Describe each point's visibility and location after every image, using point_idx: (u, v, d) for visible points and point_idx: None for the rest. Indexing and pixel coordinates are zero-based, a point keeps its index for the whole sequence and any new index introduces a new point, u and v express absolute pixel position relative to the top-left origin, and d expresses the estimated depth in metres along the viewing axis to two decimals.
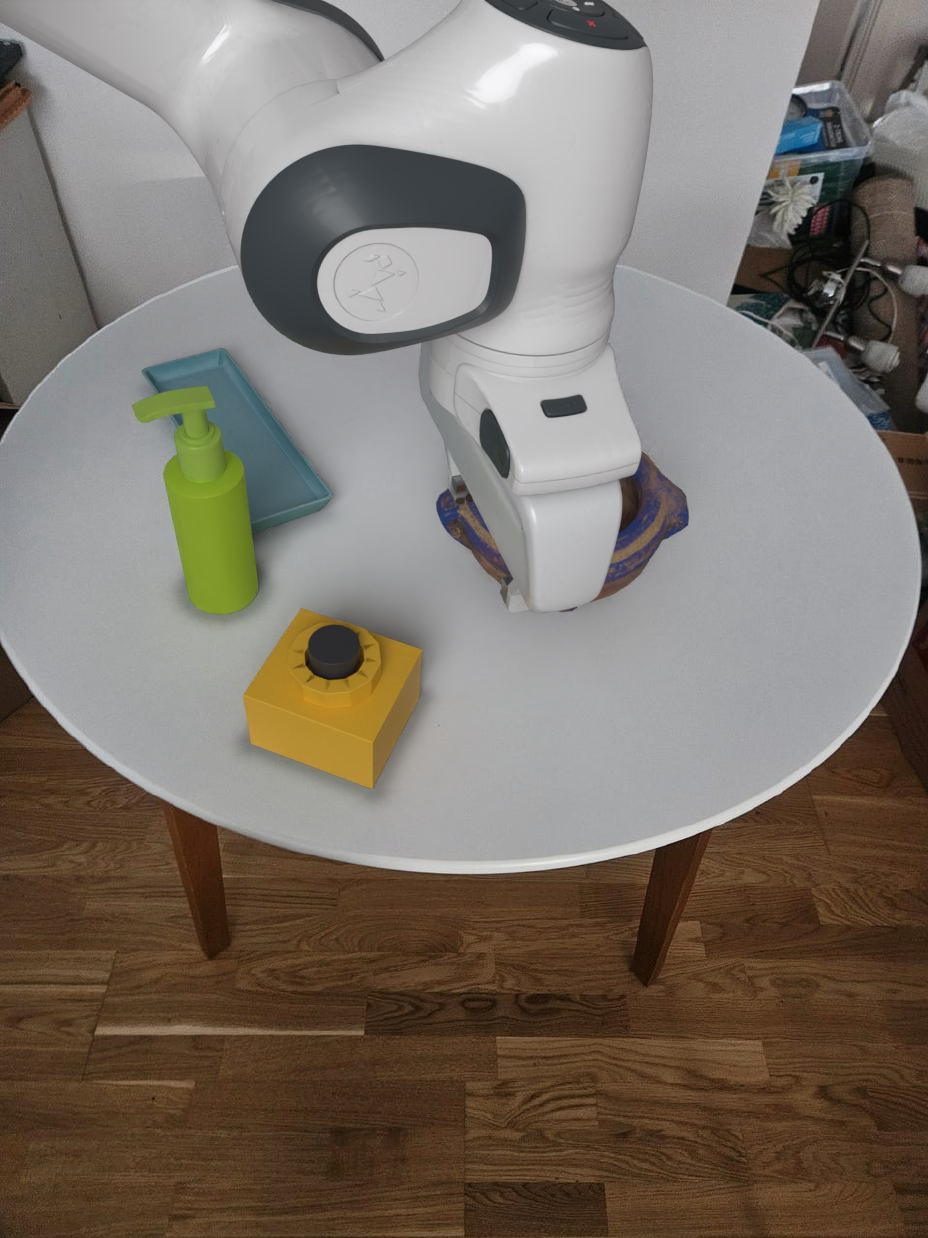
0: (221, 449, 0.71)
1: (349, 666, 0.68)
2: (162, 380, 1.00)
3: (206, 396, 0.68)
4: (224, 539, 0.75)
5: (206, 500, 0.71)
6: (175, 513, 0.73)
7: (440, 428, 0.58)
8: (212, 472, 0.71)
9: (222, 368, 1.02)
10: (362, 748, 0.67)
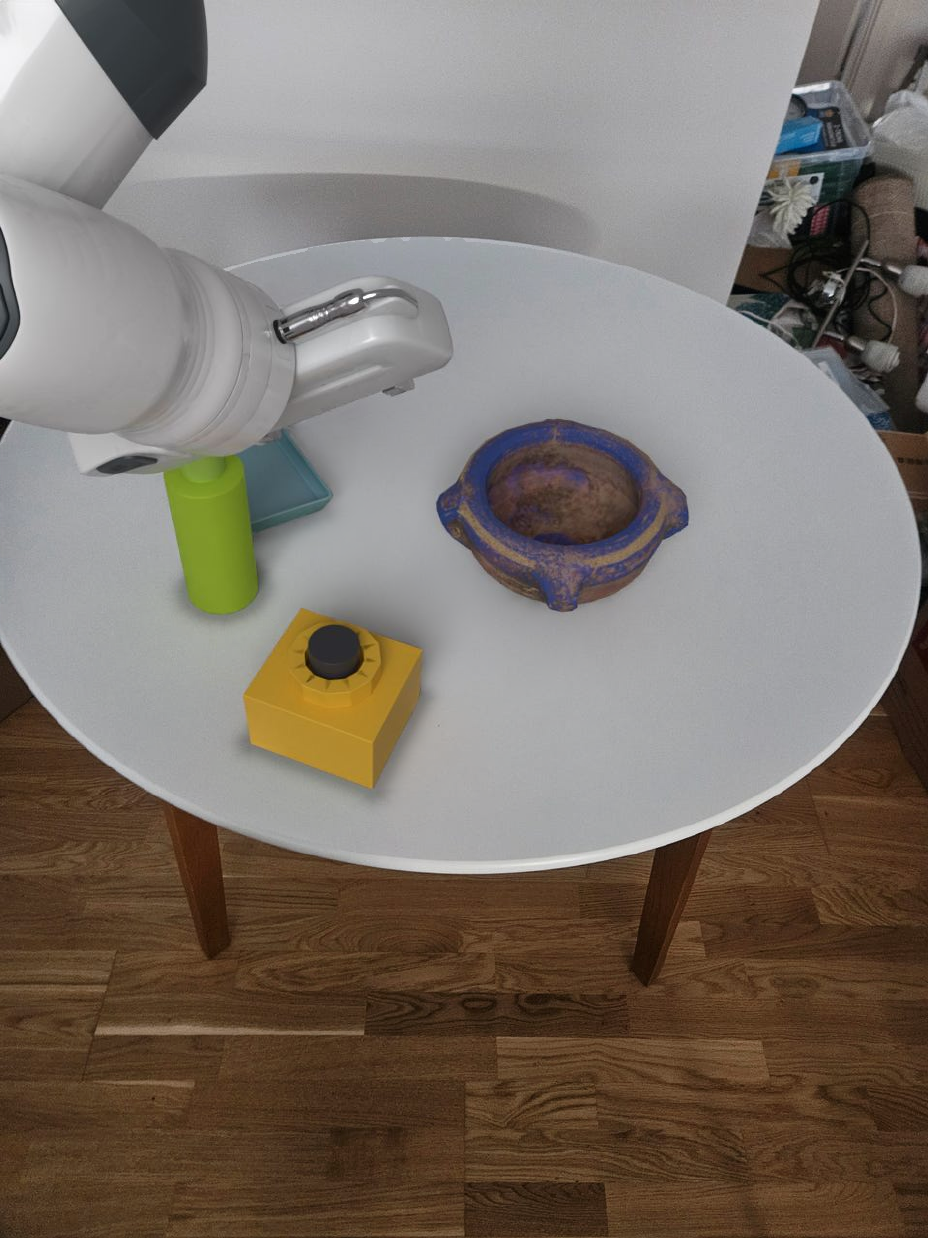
0: None
1: (349, 666, 0.68)
2: None
3: None
4: (224, 539, 0.75)
5: (206, 501, 0.71)
6: (175, 513, 0.73)
7: None
8: (212, 472, 0.71)
9: None
10: (362, 748, 0.67)
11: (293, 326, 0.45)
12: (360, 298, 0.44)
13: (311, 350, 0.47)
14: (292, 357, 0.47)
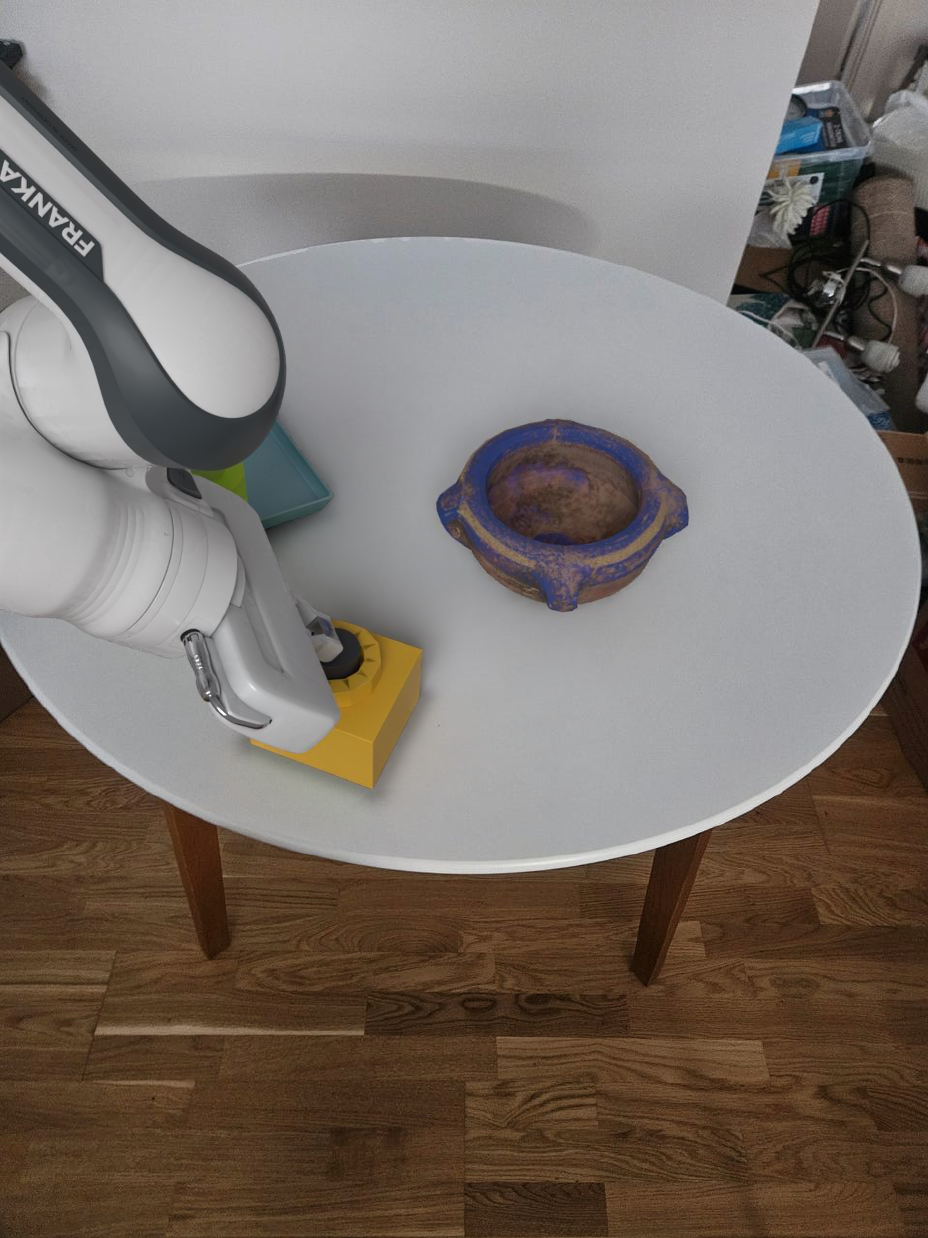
0: None
1: (349, 669, 0.68)
2: None
3: None
4: None
5: None
6: None
7: (312, 657, 0.60)
8: (212, 472, 0.71)
9: None
10: (362, 748, 0.67)
11: (186, 648, 0.54)
12: (204, 696, 0.52)
13: None
14: None
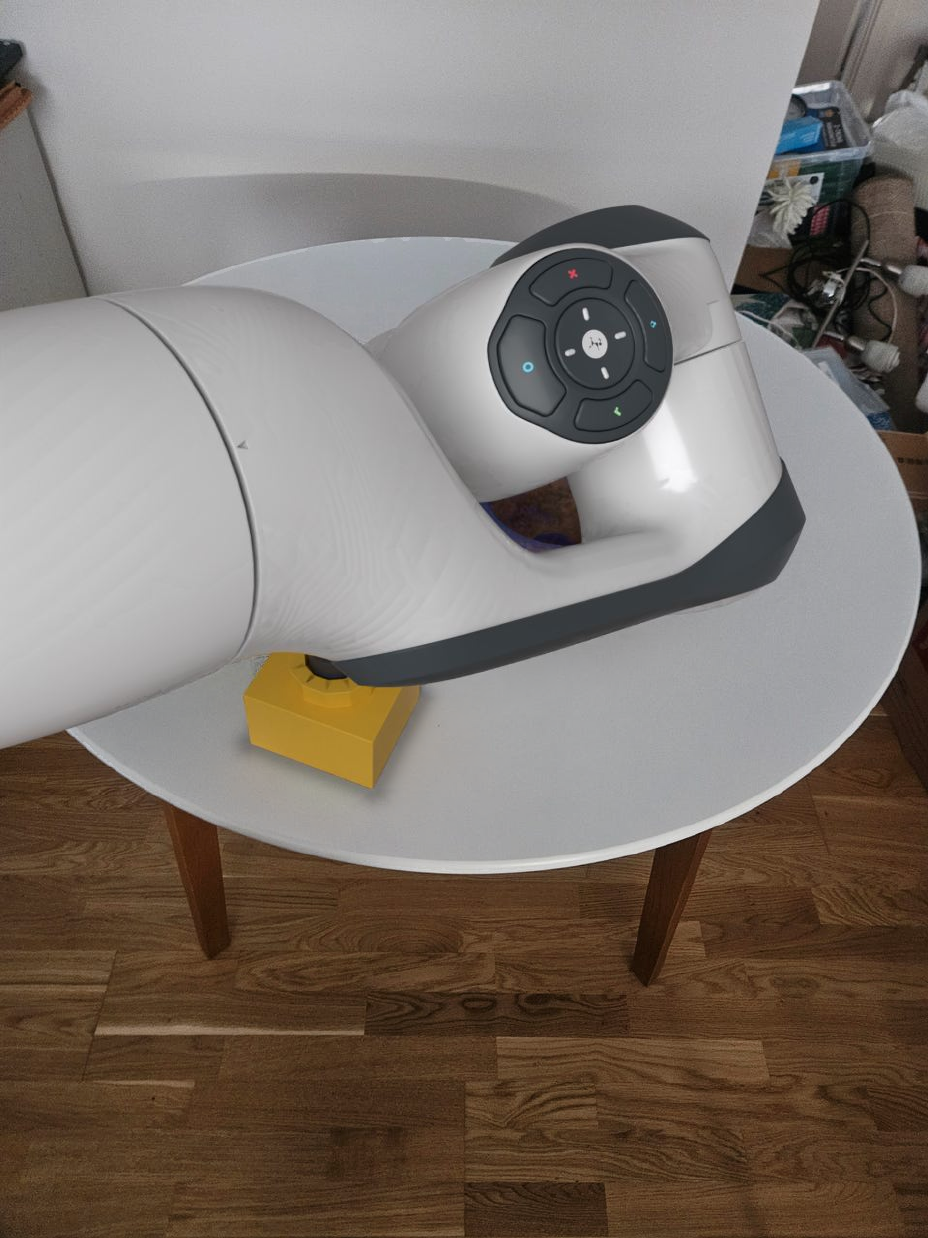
0: None
1: None
2: None
3: None
4: None
5: None
6: None
7: None
8: None
9: None
10: (362, 748, 0.67)
11: None
12: None
13: None
14: None
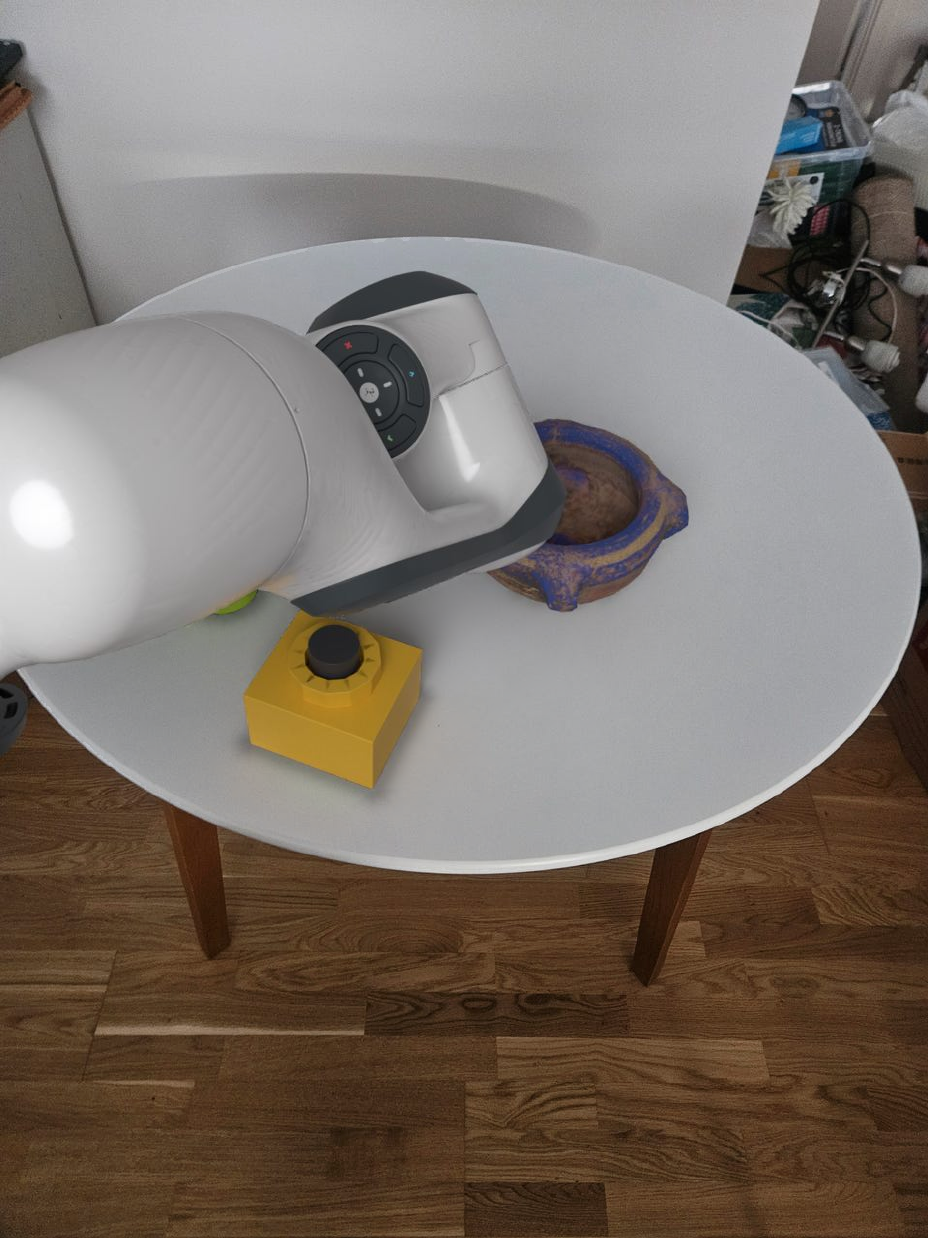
0: None
1: (349, 666, 0.68)
2: None
3: None
4: None
5: None
6: None
7: None
8: None
9: None
10: (362, 748, 0.67)
11: None
12: None
13: None
14: None
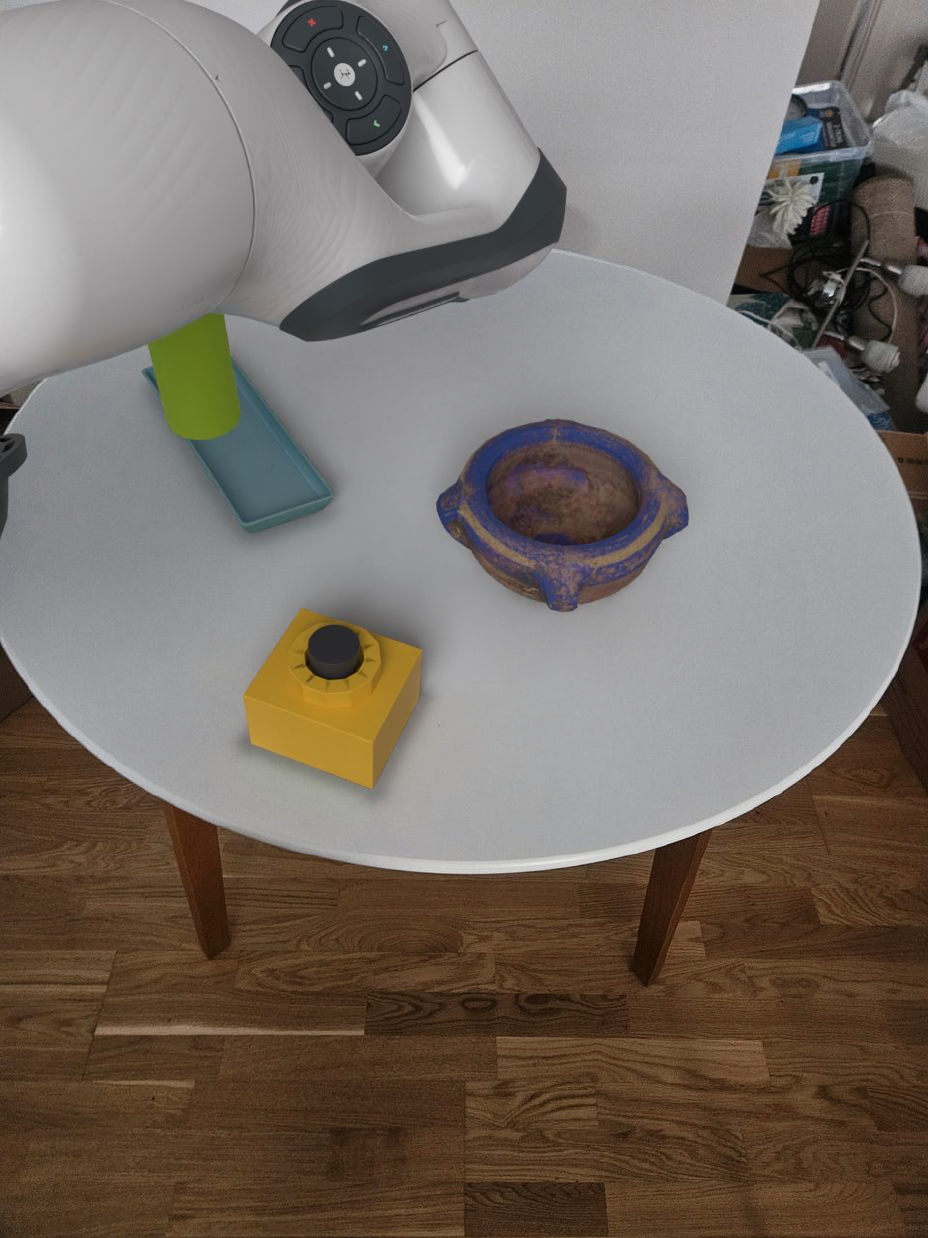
0: None
1: (349, 666, 0.68)
2: None
3: None
4: (198, 346, 0.70)
5: None
6: None
7: None
8: None
9: None
10: (362, 748, 0.67)
11: None
12: None
13: None
14: None
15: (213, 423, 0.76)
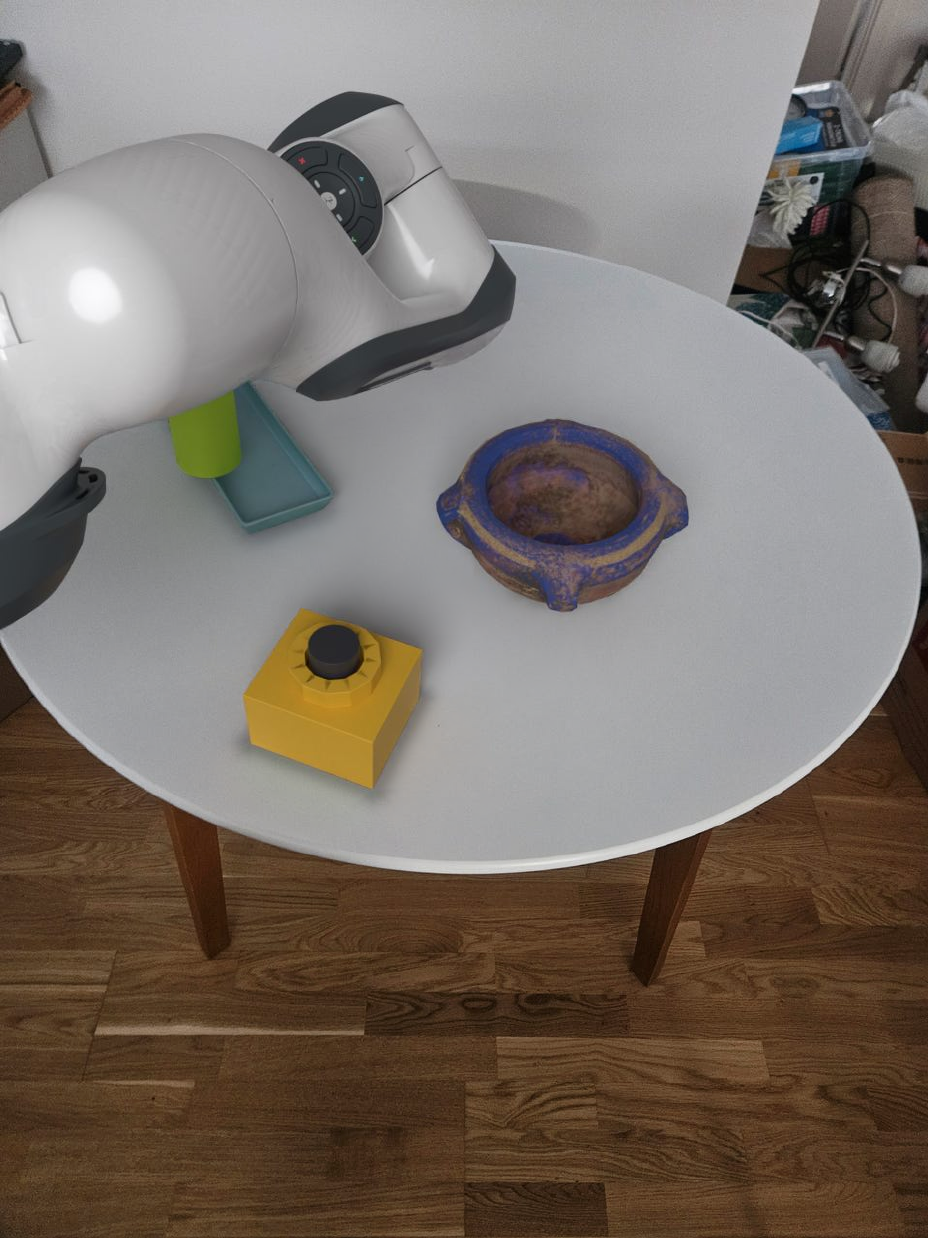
0: None
1: (349, 666, 0.68)
2: None
3: None
4: None
5: None
6: None
7: None
8: None
9: None
10: (362, 748, 0.67)
11: None
12: None
13: None
14: None
15: (218, 464, 0.87)
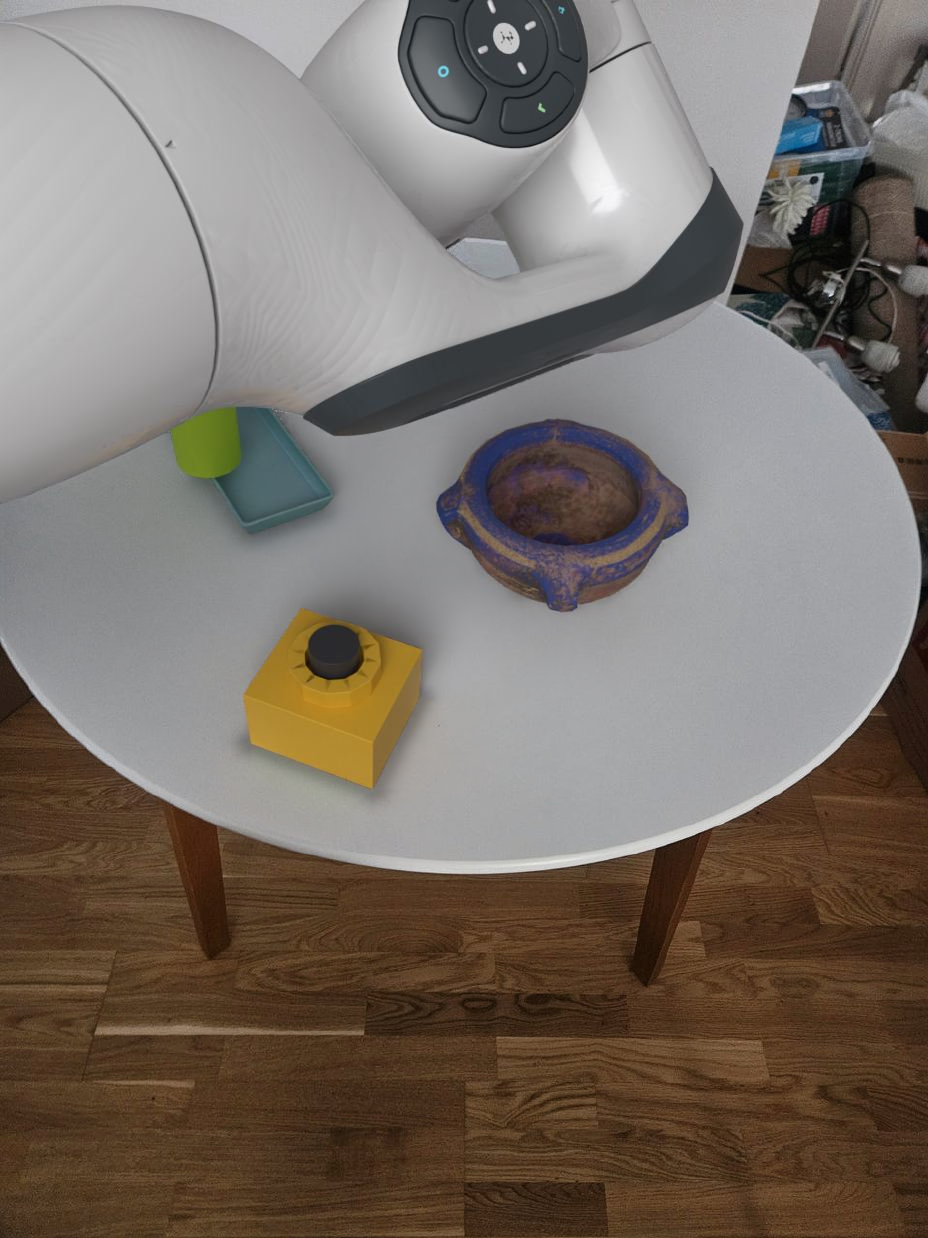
0: None
1: (349, 666, 0.68)
2: None
3: None
4: None
5: None
6: None
7: None
8: None
9: None
10: (362, 748, 0.67)
11: None
12: None
13: None
14: None
15: (218, 464, 0.87)
